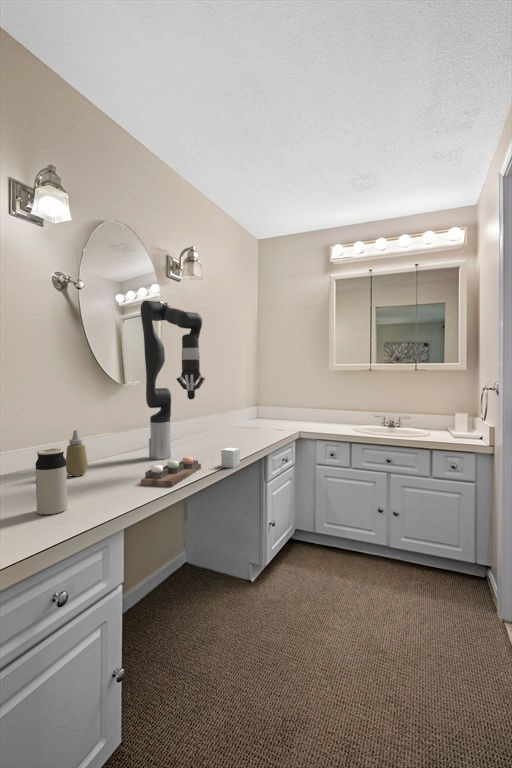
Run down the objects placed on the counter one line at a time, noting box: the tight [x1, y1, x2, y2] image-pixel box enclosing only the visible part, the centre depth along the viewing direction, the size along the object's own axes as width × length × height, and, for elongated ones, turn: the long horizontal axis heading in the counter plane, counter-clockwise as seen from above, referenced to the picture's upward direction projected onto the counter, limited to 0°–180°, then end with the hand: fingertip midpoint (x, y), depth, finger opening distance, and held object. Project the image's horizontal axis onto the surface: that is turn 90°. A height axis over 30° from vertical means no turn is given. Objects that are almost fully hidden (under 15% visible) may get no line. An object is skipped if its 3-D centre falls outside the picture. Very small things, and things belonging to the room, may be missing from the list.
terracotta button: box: [182, 456, 194, 463], centre depth 164 cm, size 4×4×3 cm
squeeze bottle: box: [65, 429, 88, 476], centre depth 160 cm, size 8×8×18 cm
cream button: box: [150, 464, 164, 473], centre depth 149 cm, size 4×4×3 cm
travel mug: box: [35, 447, 68, 515], centre depth 118 cm, size 8×8×18 cm
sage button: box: [166, 460, 180, 468], centre depth 157 cm, size 4×4×3 cm
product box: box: [220, 447, 241, 469], centre depth 173 cm, size 6×6×7 cm
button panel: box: [140, 459, 202, 488], centre depth 157 cm, size 12×28×4 cm, turn 166°
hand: (191, 399), depth 172 cm, fingers closed
